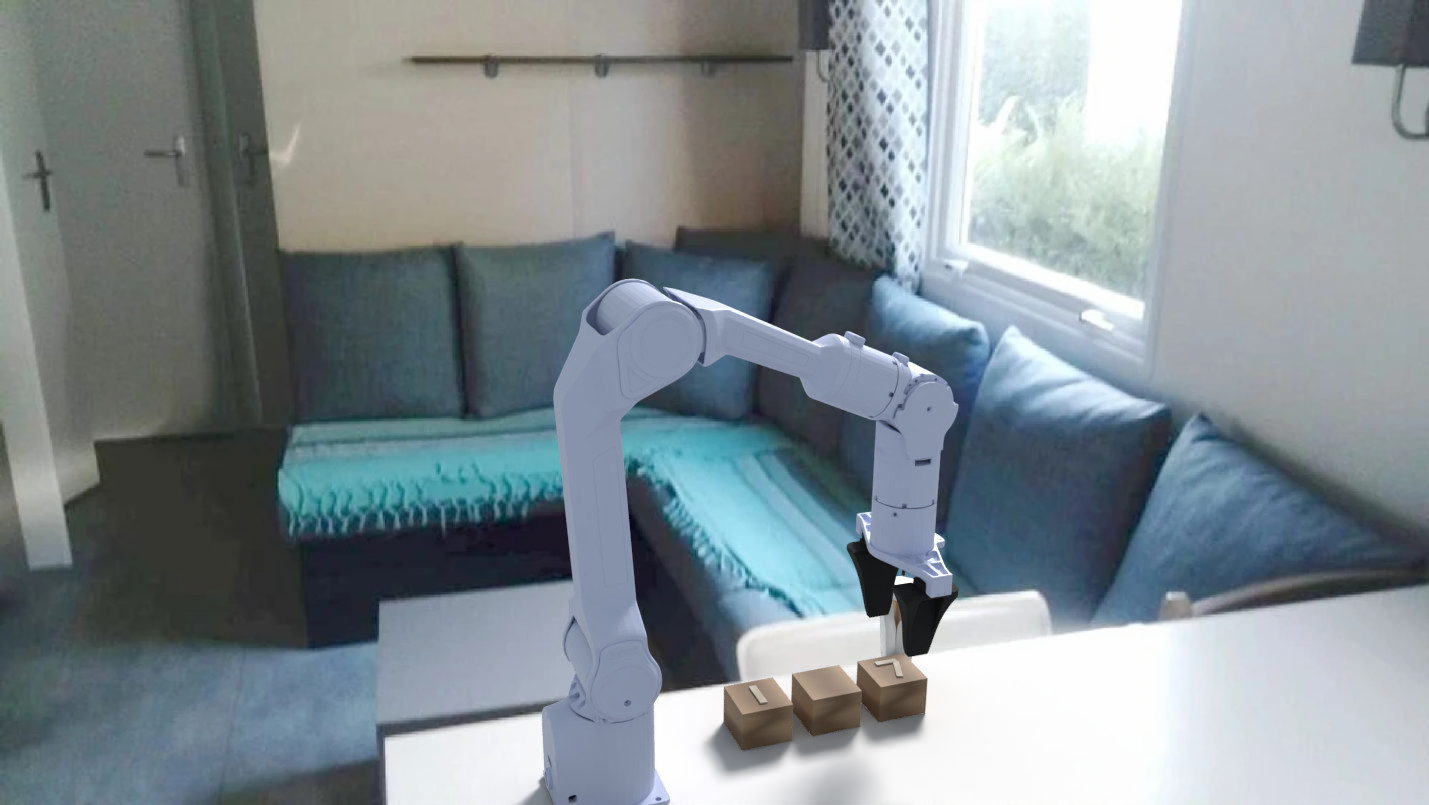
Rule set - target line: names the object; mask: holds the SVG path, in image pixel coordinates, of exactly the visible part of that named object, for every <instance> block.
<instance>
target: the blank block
mask: <svg viewBox="0 0 1429 805" xmlns="http://www.w3.org/2000/svg"><path fill="white" fill-rule="evenodd" d="M790 692H791V695H790V698H791V699H790V701H791V702H792V703H793V714H794V715H795V716H796V718H798V720H799V722H800V723H801V724H802V725H803V727H804V728H805V730H806V731H807V732H808V734H810V736H811V737H813V738H814V737H817V736H821V735H827V734H833V733H837V732H841V731H846V730H851V729H855V728H860V727H861V721H862V720H861V717H862V716H861V714H862V703H861V700H862V690H861V689H860V688H859V687H858V686H857V685H856V682H855V681H854V680H853V679H852V677H850V676H849V674H848V673H847V672H846V671H845V670H844V669H843V667H842V666H840V665H839V664H838V665H832V666H828V667H827V666H826V667H821V668H816V669H810V670H805V671H801V672H798V671H797V672H794V673H791V691H790Z"/></svg>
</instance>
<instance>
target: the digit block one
mask: <svg viewBox="0 0 1429 805" xmlns="http://www.w3.org/2000/svg"><path fill="white" fill-rule="evenodd" d="M723 724H724V725H725V727H726V728H727V729H728V731H729V733H730V734H731V736H732V737H733V740H734V741H735V742H736V744H737V745H738V747H739V749H740V750H741V751H742V752H745V751H749V750H750V751H751V750H756V749H760V748H763V747H768V746H769V747H770V746H773V745H778V744H783V743H788V742H789V743H790V742H793V730H794V729H793V728H794V726H793V725H794V712H793V703H792V702H791V699H790V698H789V696H787V694H786V693H785V692H784V690H783V689H782V687H781V686H780V685H779V683H778V682H777V680H775V679H774V677H767V678H761V679H755V680H752V681H751V680H750V681H748V682H747V681H746V682H742V683H735V684H731V685H726V686H725V685H724V686H723Z"/></svg>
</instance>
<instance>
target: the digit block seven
mask: <svg viewBox="0 0 1429 805" xmlns="http://www.w3.org/2000/svg"><path fill="white" fill-rule="evenodd" d="M856 663H857V664H856V665H857V666H856V682H855V684H856V685H857V686H858V687H859V688H860V689H861V690H862V700H861V705H863V707H865V709H867V711H868V712H869V713H870V714H871V715H872V717H873V718H874V719H875V720H876V721H877V723H886V722H889V721H894V720H898V719H905V718H908V717H913V716H914V717H915V716H918V715H919V716H920V715H923V714H926V708H927V707H926V706H927V694H928V680H929V678H928V677H927V676H926V675H925V674H924V673H923V671H921V670H920V669H919V667H917V666H916V665H915V664H914V663H913V662H912V660H911V661H910V660H909V659H908V658H907V657H906V656H905V655H904V654H903V653H900V654H895V655H890V656H884V657H881V656H879V657H874V658H869V659H863V660H858V661H857V662H856Z"/></svg>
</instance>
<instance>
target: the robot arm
mask: <svg viewBox="0 0 1429 805" xmlns="http://www.w3.org/2000/svg"><path fill="white" fill-rule="evenodd" d="M662 288H663V290H664V291H665V292H666V293H667V295H668V296H666V295H665V294H663V293H662V292H661V291H660V290H659V289H658V288H657V287H655V286H654V285H653V284H651V283H650V282H648V281H646V280H643V279H639V278H627V279H625V278H624V279H621V280H618V281H616V282H614V283H613V284H610V285H609V286H608V287H606V288H605V289H604V290H603V291H602V292H601V293H600V294H599V295H598V296H597V297H596V298H595V299H594V300H593V301H591V303H590V304H589V305H587V307H585V308H584V309H583V311H582V313H581V319H580V325H579V331H578V334H577V336H576V338H575V341H574V343H573V344H572V348H570V352H569V353H568V355H567V358H566V360H565V362H564V364H563V367H562V369H561V372H560V373H559V376H558V378H557V381H556V383H555V385H554V389H553V397H552V400H553V409H554V420H555V429H556V437H557V438H556V439H557V445H558V448H557V449H558V455H559V465H560V475H561V483H562V484H561V485H562V490H563V492H562V493H563V502H564V510H565V519H566V520H565V522H566V528H567V530H566V531H567V537H568V547H569V548H568V549H569V557H570V567H571V575H572V582H573V583H572V584H573V595H571V596H570V597H569V599H568V610H569V614H568V620H567V623H566V626H565V628H564V631H563V633H562V638H561V642H562V643H561V646H562V651H563V653H564V655H565V657H566V659H567V661H568V662H569V663H570V664H571V666H572V668H573V671H574V672H575V674H574V676H573V678H572V681H571V684H570V687H569V690H568V695H567V696H566V697H564V698H562V699H561V700H559V701H556V702H554V703H552V704H548V705H546V706H544V707H543V708H542V710H541V711H542V712H541V727H542V728H541V729H542V730H541V732H542V733H541V734H542V748H543V750H542V751H543V752H542V753H543V770H542V776H543V778H544V782H545V786H546V789H547V791H548V792H549V795H550V799H551V802H552V805H669V804H670V803H671V798H670V794H669V793H668V790H667V789H666V787H665V785H664V783H663V780H662V779H661V777H660V775H659V773H658V771H657V769H656V759H655V758H656V757H655V756H656V753H655V749H656V746H655V741H656V740H655V702H656V701H657V699H658V698H659V696H660V693H661V690H662V686H663V676H662V671H661V668H660V666H659V664H658V663H657V661H656V660H655V659H654V657H653V656H652V654H651V653H650V650H649V645H648V635H647V632H646V629H645V624H644V622H643V619H642V615H641V612H640V609H639V606H638V601H637V594H636V584H635V583H636V582H635V573H634V571H635V570H634V561H633V552H632V541H631V540H632V539H631V530H630V519H629V518H630V516H629V507H628V494H627V484H626V481H627V480H626V471H625V460H624V459H625V458H624V448H623V439H622V429H621V428H622V427H621V420H622V419H623V417H624V416H626V414H627V413H628V412H629V411H631V410H632V408H633V407H634V406H635V405H636V404H638V402H640V401H642V400H643V399H645V398H647V397H649V396H651V395H653V394H654V393H656V392H658V391H659V390H662V389H663V388H665V387H667V386H669V385H670V384H672V383H674V382H676V381H677V380H679V379H681V378H682V377H683V376H685V375H686V374H687V373H688V372H689V371H691V369H693V367H694V366H695V364H696V363H698V364H699V365H700V366H702V367H704V368H706V367H710V366H711V365H712V364H714V363H716V362H717V361H719V360H721V359H722V358H723V357H724V356H727V355H729V356H732V357H735V358H738V359H741V360H744V361H747V362H751V363H753V364H756V365H760V366H763V367H765V368H768V369H772V370H775V371H777V372H782V373H784V374H786V375H787V374H788V375H790V376H794V377H797V378H798V379H799V380H800V382H801V386H802V387H803V390H804V391H805V394H806V395H807V396H808V397H809V398H811V399H813V400H816V401H819V402H821V403H823V404H827V405H829V406H832V407H834V408H837V409H840V410H843V411H846V412H848V413H851V414H854V415H857V416H860V417H862V418H866V419H868V420H871V421H875V434H874V436H875V438H874V457H873V458H874V459H873V476H872V477H873V478H872V492H871V493H872V494H871V511H868V512H867V511H866V512H859V513H857V514H856V519H855V520H856V523H855V532H856V533H857V535H859V536H861V538H859V540H857V541H852V542H851V541H850V542H848V543H847V544H846V551H847V553H848V555H849V557H850V559H851V561H852V563H853V565H854V568H855V571H856V574H857V578H858V581H859V586H860V590H861V596H862V601H863V607H864V610H865V614H866V616H867V617H868V618H870V619H871V618H872V619H873V618H877V617H880V616H884V615H889V612H890V609H891V605H892V599H893V593H894V595H895V597H896V600H897V603H898V606H899V610H900V614H901V621H902V641H903V648H904V652H905V654H906V655H907V656H908V657H918V656H925V655H927V654H928V653H929V651H930V649H931V646H932V643H933V641H934V639H935V636H936V635H935V634H936V632H937V629H938V627H939V625H940V622H941V621H942V618H943V617H944V615H945V613H946V611H948V609H949V607H950V606H951V605H952V604H953V603H954V601H955V600H956V599H957V598H958V597H959V590H960V589H959V587H958V586H957V585H956V584H955V583H954V582H953V576H954V574H953V573H951V572H950V571H949V569H948V568H947V567H946V565H945V563H944V560H943V558H942V555H941V552H940V550H939V549H943V548H944V547H945V543H946V540H945V539H944V538H943V537H942V536H941V535H939V534H938V533H936V522H937V519H936V518H937V507H938V506H937V505H938V492H939V491H938V490H939V480H940V466H941V464H940V463H941V452H942V451H943V450H944V440H945V436H946V433H947V432H948V430H949V429H950V428H951V427H952V426H953V424H954V422H955V419H956V418H957V414H958V412H959V403H956V402H955V401H954V394H953V391H952V388H951V386H949V385H948V383H949V382H947V381H946V380H945V379H944V378H943V377H941V376H939V375H937V374H936V373H933V372H932V371H929V370H928V369H926V368H923V367H922V366H919V365H917V364H916V363H913V362H912V361H910V358H909V357H908V356H906V355H904V354H902V353H900V352H897V351H894V352H893V353H892V354H891V355H890V354H888V353H885V352H883V351H880V350H878V349H875V348H873V347H870V346H868V345H865V342H866V338H865V337H862V336H860V335H859V334H856V333H854V332H852V331H848V330H847V331H845V333H844V336H843V335H839V334H837V333H828V334H825V335H823V336H821V337H818V338H817V339H815V340H812V341H811V340H808V339H806V338H804V337H801V336H799V335H797V334H796V333H795V334H794V333H792V332H790V331H787V330H785V329H782V328H780V327H778V326H776V325H773V324H771V323H768V322H766V321H764V320H761V319H759V318H757V317H755V316H752V315H749V314H747V313H745V312H742V311H741V310H738V309H736V308H734V307H731V306H728V305H726V304H724V303H721V302H719V301H716V300H714V299H710V298H708V297H704V296H701V295H697V294H694V293H690V292H687V291H684V290H680V289H677V288H671V287H666V286H662ZM901 569H902V570H904V571H906V573H909V574H911V575H912V576H913V578H912V579H913V583H912V582H909V583H903V584H897V585H895V580H896V576H898V572H899V570H901Z"/></svg>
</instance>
